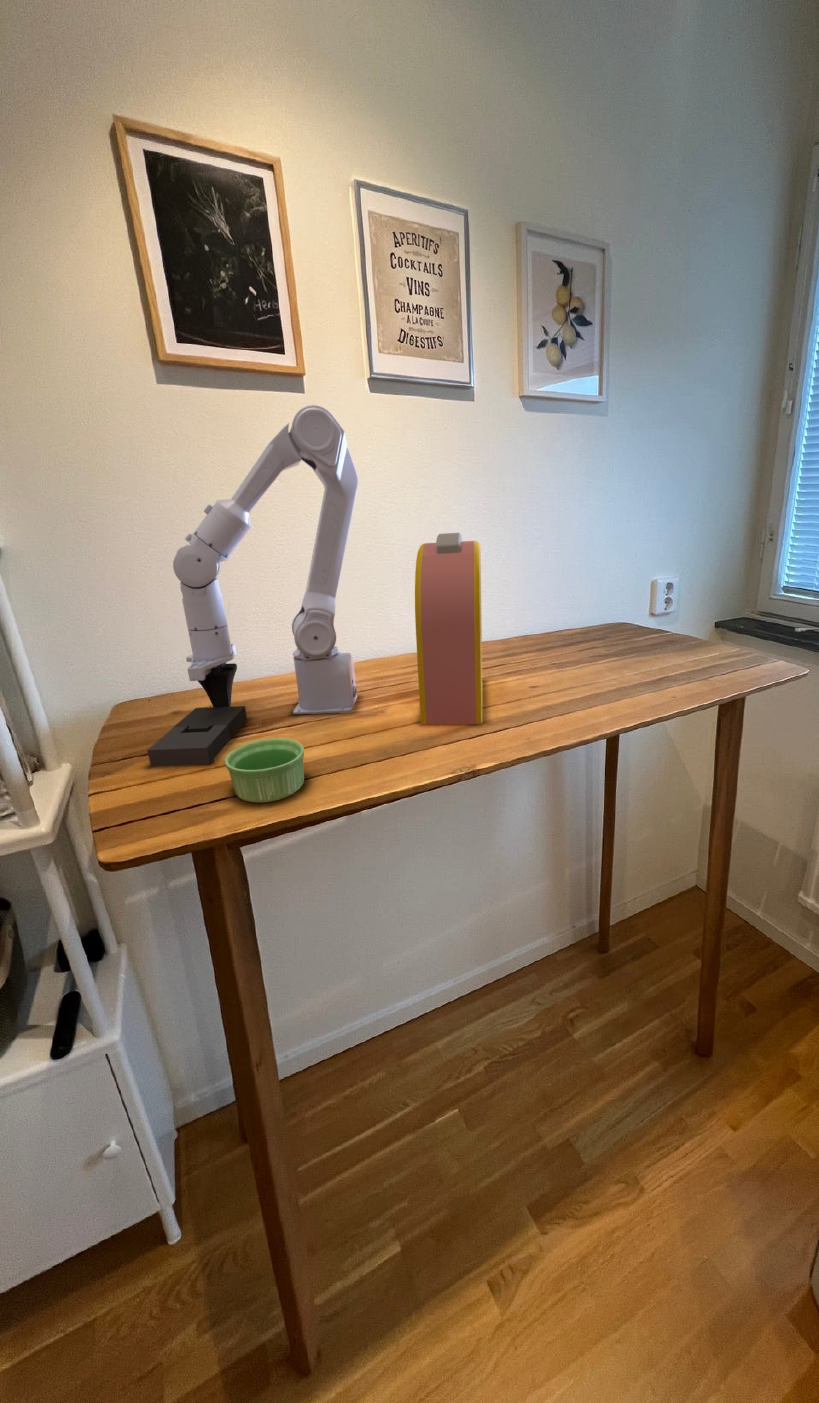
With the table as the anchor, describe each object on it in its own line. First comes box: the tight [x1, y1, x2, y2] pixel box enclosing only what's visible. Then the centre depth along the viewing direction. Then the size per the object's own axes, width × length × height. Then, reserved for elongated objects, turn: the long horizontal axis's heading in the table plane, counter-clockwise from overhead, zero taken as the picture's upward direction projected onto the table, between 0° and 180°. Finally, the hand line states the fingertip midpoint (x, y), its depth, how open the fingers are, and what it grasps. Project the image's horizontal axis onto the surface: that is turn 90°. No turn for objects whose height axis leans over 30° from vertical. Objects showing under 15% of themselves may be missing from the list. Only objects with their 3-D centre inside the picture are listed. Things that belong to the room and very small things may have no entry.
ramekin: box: [224, 737, 305, 803], centre depth 64 cm, size 9×9×4 cm
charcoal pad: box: [146, 725, 231, 767], centre depth 76 cm, size 8×8×2 cm
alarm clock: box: [414, 532, 483, 725], centre depth 86 cm, size 21×9×26 cm, turn 173°
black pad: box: [173, 705, 248, 740], centre depth 83 cm, size 8×9×2 cm
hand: (223, 711), depth 88 cm, fingers closed
